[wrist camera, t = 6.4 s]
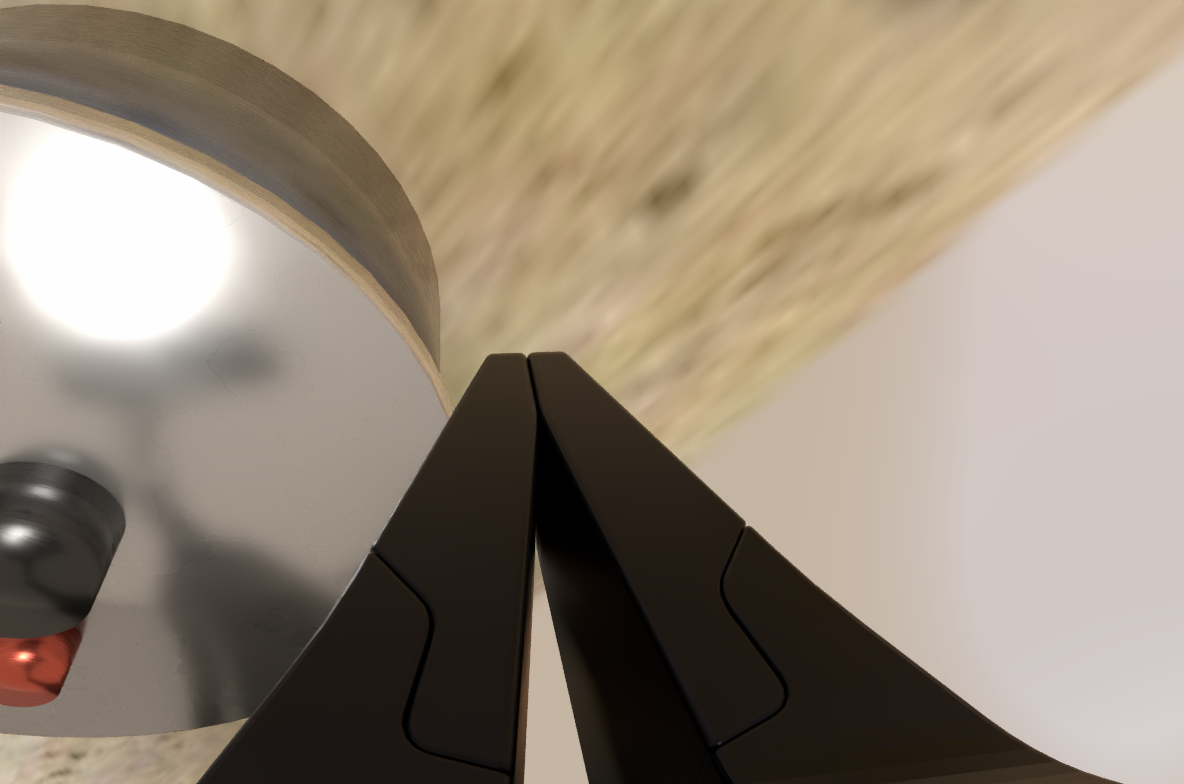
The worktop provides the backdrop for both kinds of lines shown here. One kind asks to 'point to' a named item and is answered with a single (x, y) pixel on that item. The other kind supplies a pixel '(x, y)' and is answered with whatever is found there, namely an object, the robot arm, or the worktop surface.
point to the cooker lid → (179, 427)
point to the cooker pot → (233, 129)
